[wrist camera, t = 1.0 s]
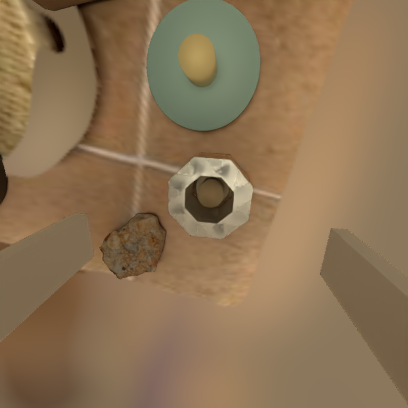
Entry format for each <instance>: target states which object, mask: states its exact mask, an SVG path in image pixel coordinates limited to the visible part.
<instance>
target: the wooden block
mask: <svg viewBox="0 0 408 408" xmlns="http://www.w3.org/2000/svg"><path fill="white" fill-rule="evenodd" d="M33 1H34V2H36V3H37V4H39V5H40V6H42V7H43V8H45V9H48V10H53V11H56V10H60V9H64V8H67V7H71V6H75V5H79V4H82V3H86V2H90V1H94V0H33Z"/></svg>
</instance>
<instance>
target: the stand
mask: <svg viewBox="0 0 408 408" xmlns="http://www.w3.org/2000/svg"><path fill="white" fill-rule="evenodd" d="M196 191H197V194H198V199H199V201H200V203H201V204H202V205H204V206H206V207H210V208H211V207H216V206H218V205H219V204H220V203H221V202H222V201H223V200H224V199H225V198H226V197H227V195H228V193H229V186H228V185H227V184H226V182H225V181H224V180H223V179H222V178H221V177H212V176H200V177H199V179H198V181H197V184H196Z"/></svg>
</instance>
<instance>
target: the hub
mask: <svg viewBox="0 0 408 408" xmlns="http://www.w3.org/2000/svg"><path fill="white" fill-rule="evenodd" d="M259 74H260V51H259V45H258V42H257V38H256V35H255V33H254V31H253V29H252V27H251V25H250V24H249V22H248V20H247V19H246V18H245V17H244V15H243V14H242V13H241V12H240V11H238V10H237V9H236V8H235V7H233V6H232V5H230V4H229V3H226V2H224V1H222V0H188V1H186V2H183V3H181V4H180V5H178V6H176V7H175V8H173V9H172V10H171V11H170V12H169V13H168V14H167V15H166V16H165V17H164V18H163V19H162V21H161V22H160V23H159V25H158V26H157V28H156V30H155V32H154V34H153V36H152V39H151V42H150V45H149V49H148V55H147V77H148V83H149V86H150V90H151V93H152V95H153V97H154V99H155V101H156V103H157V105H158V106H159V107H160V109H161V110H162V111H163V113H164V114H165V115H166V116H167V117H168V118H170V119H171V120H172V121H173V122H175V123H177V124H178V125H180V126H183V127H185V128H188V129H192V130H198V131H209V130H215V129H218V128H221V127H223V126H226V125H227V124H229V123H231V122H232V121H233V120H235V119H236V118H237V117H238V116H239V115H240V114H241V113H242V112H243V110H244V109H245V108H246V106H247V105H248V103H249V101H250V100H251V98H252V96H253V94H254V92H255V89H256V86H257V83H258V79H259Z"/></svg>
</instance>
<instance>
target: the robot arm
mask: <svg viewBox="0 0 408 408" xmlns="http://www.w3.org/2000/svg"><path fill="white" fill-rule="evenodd" d="M5 191H6V173H5V169H4V165H3V162H2V160H1V158H0V203H1V201H2V199H3V197H4V195H5ZM93 257H94V252H93V246H92V240H91V235H90V229H89V224H88V218H87V214H82V213H73V214H71V215H69V216H67V217H65V218H63V219H61V220H60V221H58V222H56V223H54V224H52V225H50V226H48V227H46V228H44V229H42V230H40V231H38V232H36V233H34V234H32V235H30V236H28V237H26V238H24V239H22V240H21V241H19V242H17V243H15V244H13V245H11V246H9V247H7V248H5V249H3V250H1V251H0V342H1V341H2V340H3V339H4V338H5V337H6V336H7V335H8V334H10V333H11V332H12V331H13V330H14V329H15V328H16V327H17V326H18V325H19V324H21V322H23V321H24V320H25V319H26V318H27V317H28V316H29V315H30V314H31V313H32V312H33V311H35V310H36V309H37V308H38V307H39V306H40V305H41V304H42V303H43V302H45V301H46V300H47V299H48V298H49V297H50V296H51V295H52V294H53V293H54V292H55V291H57V289H59V288H60V287H61V286H62V285H63V284H64V283H65V282H66V281H67V280H68V279H70V278H71V277H72V276H73V275H74V274H75V273H76V272H77V271H78V270H80V269H81V268H82V267H83V266H84V265H85V264H86V263H87V262H88V261H89V260H90V259H92V258H93ZM320 275H321V276H322V278H323V279H324V281H325V282H326V284H327V285H328V287H329V288H330V290H331V291H332V292H333V294H334V295H335V297H336V298H337V300H338V301H339V303H340V304H341V306H342V307H343V309H344V310H345V312H346V313H347V315H348V316H349V318H350V319H351V321H352V322H353V324H354V325H355V327H356V328H357V330H358V331H359V333H360V334H361V335H362V337H363V339H364V340H365V342H366V343H367V344H368V346H369V347H370V349H371V350H372V352H373V353H374V355H375V356H376V358H377V359H378V361H379V362H380V364H381V365H382V367H383V368H384V370H385V371H386V373H387V374H388V376H389V377H390V379H391V380H392V382H393V383H394V384H395V386H396V388H397V389H398V391H399V392H400V393H401V395H402V396H403V398H404V399H405V401H406V402H407V404H408V277H407V276H406V275H405V274H403V273H402V272H401V271H400V270H398V269H397V268H396V267H395V266H393V265H392V264H390V263H389V262H388V261H387V260H386V259H384V258H383V257H382V256H380V255H379V254H378V253H377V252H375V251H374V250H373V249H372V248H370V247H369V246H368V245H366V244H365V243H364V242H363V241H361V240H360V239H359V238H357V237H356V236H355V235H354V234H352V233H351V232H350V231H348V230H347V229H333V228H331V231H330V235H329V239H328V243H327V247H326V251H325V255H324V259H323V263H322V268H321V272H320Z"/></svg>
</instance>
